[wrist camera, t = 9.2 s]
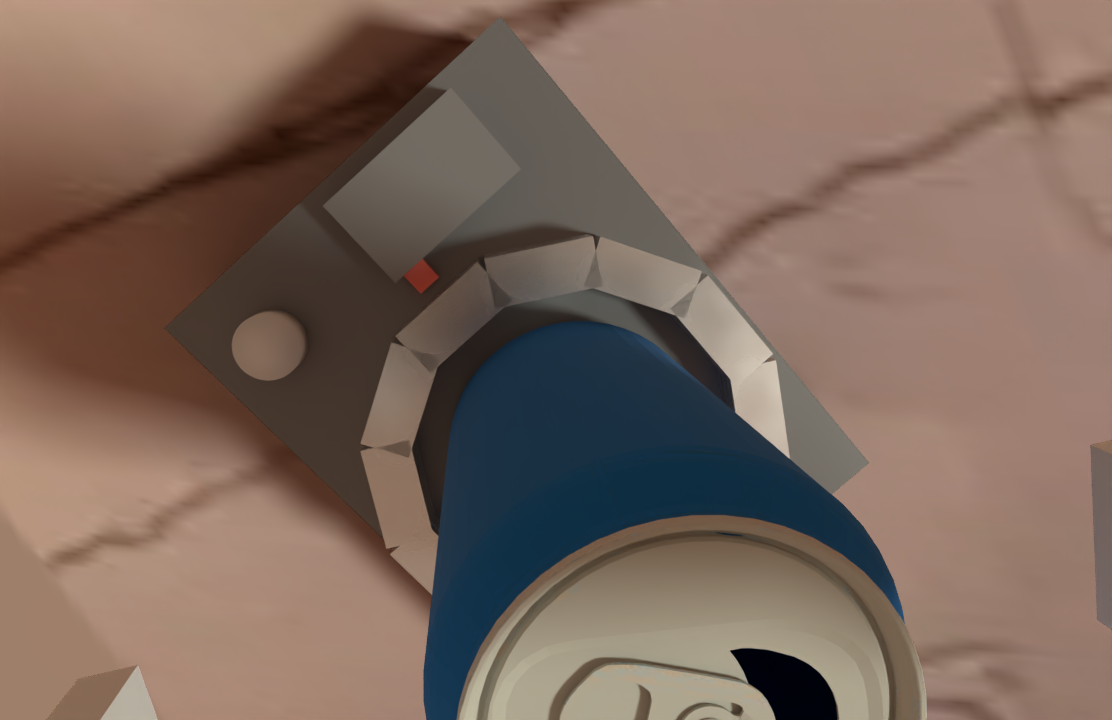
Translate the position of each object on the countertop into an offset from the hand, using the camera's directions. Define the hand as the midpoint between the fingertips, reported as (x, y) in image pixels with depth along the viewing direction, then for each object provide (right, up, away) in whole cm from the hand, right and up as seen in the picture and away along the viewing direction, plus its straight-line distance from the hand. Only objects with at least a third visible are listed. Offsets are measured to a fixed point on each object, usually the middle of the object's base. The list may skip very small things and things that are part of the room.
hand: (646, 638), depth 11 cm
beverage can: (-1, +2, +10) cm, 11 cm away
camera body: (-2, +4, +14) cm, 14 cm away
